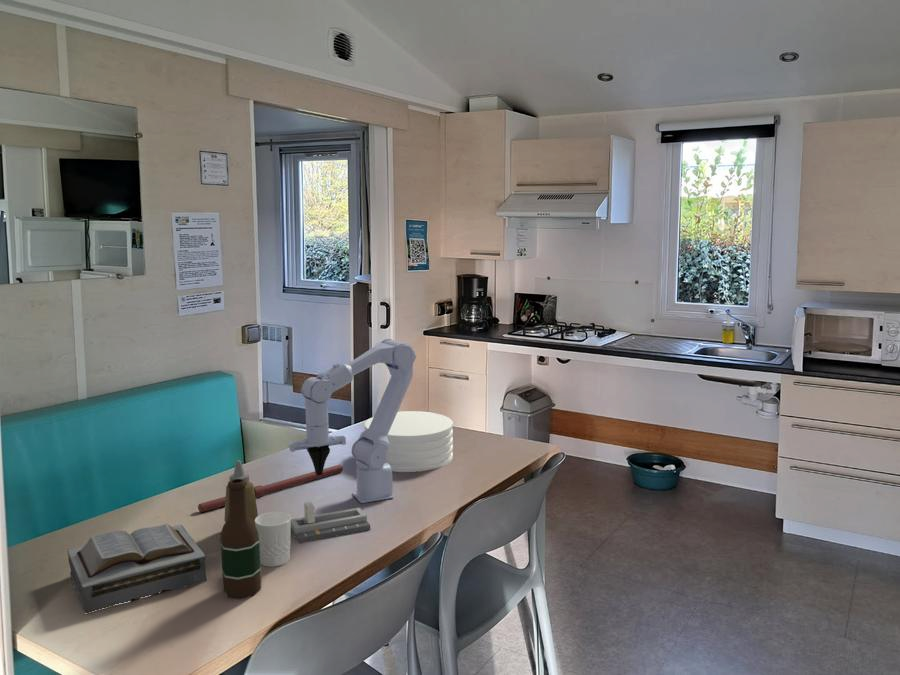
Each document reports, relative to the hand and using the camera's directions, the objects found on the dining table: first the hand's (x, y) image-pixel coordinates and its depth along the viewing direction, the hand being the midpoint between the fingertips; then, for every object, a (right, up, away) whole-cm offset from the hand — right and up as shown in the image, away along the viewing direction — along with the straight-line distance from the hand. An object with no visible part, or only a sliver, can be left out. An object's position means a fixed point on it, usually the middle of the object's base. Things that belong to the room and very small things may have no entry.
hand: (318, 473), depth 197 cm
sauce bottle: (-9, -17, -40) cm, 45 cm away
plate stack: (+21, -3, +44) cm, 49 cm away
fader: (0, -11, -12) cm, 16 cm away
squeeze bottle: (-17, -12, -11) cm, 24 cm away
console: (+4, -12, -9) cm, 16 cm away
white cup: (-5, -15, -27) cm, 31 cm away
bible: (-33, -17, -35) cm, 51 cm away
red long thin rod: (-15, -8, +15) cm, 23 cm away
